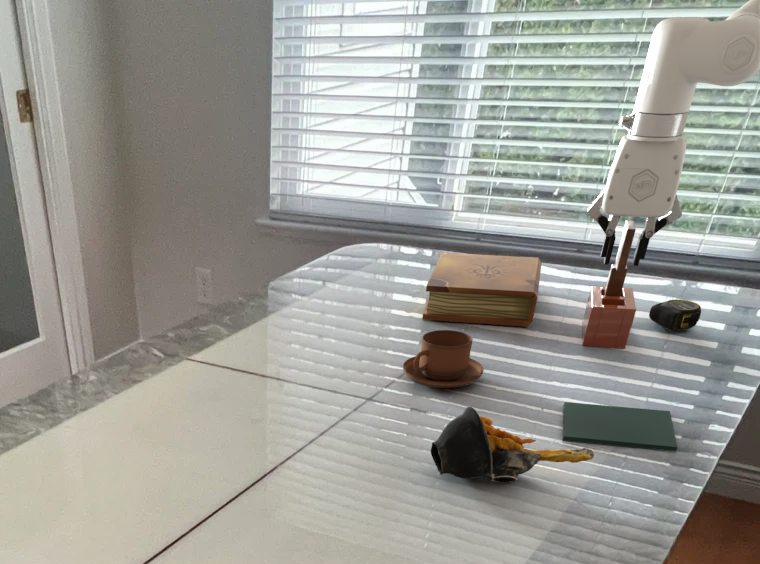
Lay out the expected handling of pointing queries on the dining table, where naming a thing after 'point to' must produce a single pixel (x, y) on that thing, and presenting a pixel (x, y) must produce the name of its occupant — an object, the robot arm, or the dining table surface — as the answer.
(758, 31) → the robot arm
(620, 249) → the notched brown wooden bar
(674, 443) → the mat
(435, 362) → the cup and saucer
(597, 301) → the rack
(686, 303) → the tape measure
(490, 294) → the diary
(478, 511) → the dining table surface
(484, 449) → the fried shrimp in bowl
